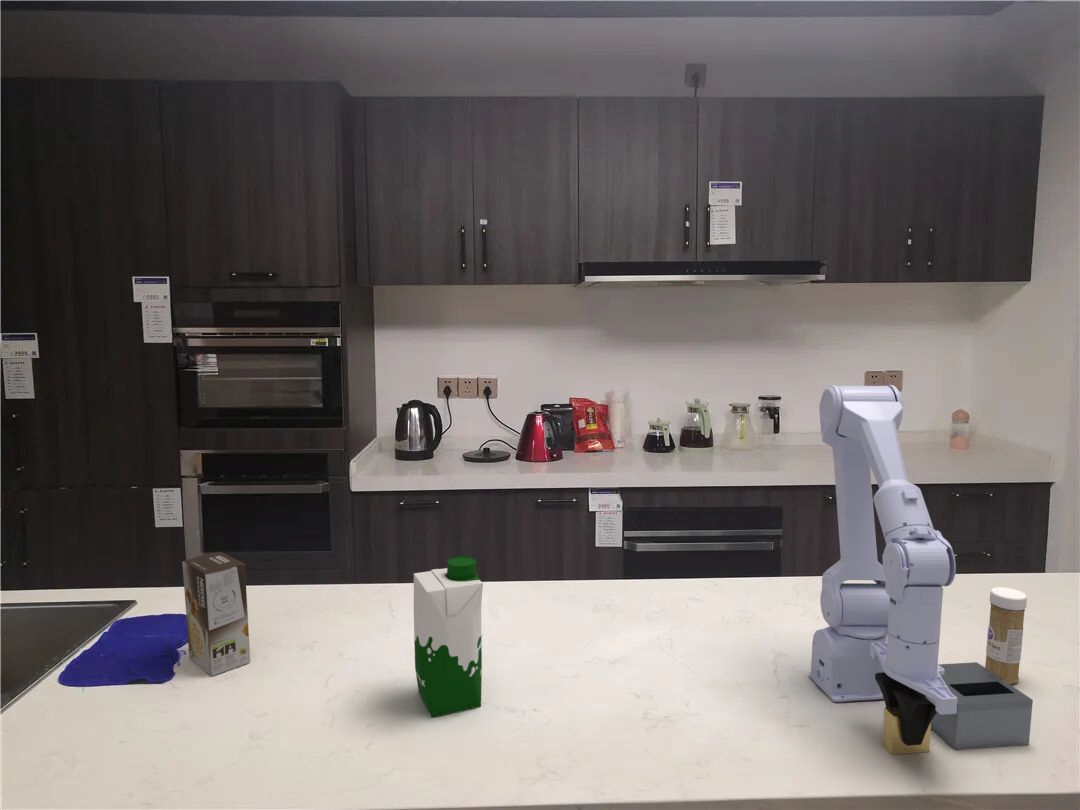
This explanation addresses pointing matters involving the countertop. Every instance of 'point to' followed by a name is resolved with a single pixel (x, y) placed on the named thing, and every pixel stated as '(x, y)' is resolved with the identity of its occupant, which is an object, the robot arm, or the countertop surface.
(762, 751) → the countertop surface
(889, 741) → the block
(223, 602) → the coffee box
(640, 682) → the countertop surface
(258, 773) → the countertop surface
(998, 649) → the sprinkles bottle
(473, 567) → the milk carton
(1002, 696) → the box
